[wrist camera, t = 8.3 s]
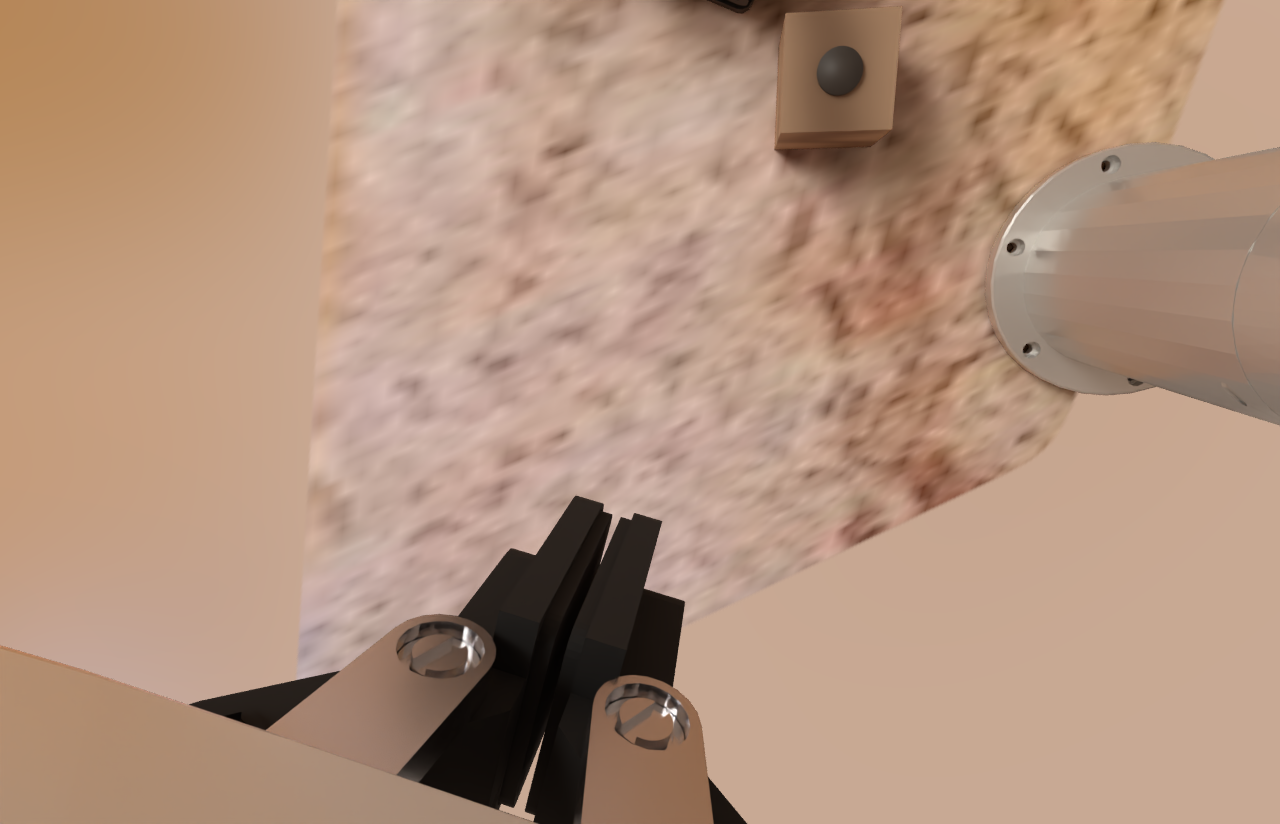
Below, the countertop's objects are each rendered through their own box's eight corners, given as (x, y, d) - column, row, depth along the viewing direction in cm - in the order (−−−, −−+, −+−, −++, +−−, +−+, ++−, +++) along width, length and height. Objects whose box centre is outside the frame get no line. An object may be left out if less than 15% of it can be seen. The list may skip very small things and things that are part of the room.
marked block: (878, 42, 33) (903, 4, 28) (870, 147, 34) (893, 128, 29) (778, 47, 33) (786, 11, 28) (774, 149, 34) (780, 132, 29)
